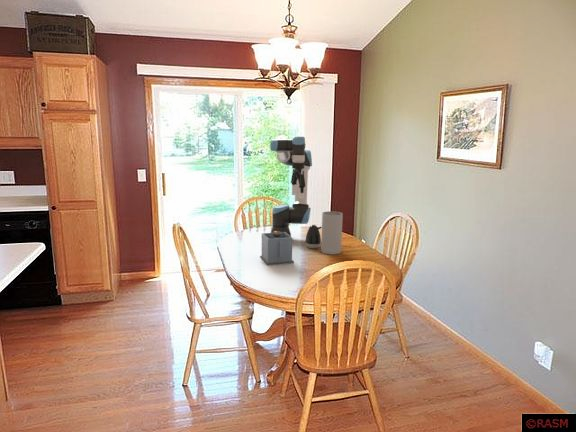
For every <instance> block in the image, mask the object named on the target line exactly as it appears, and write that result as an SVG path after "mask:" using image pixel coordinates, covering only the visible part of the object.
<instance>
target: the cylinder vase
mask: <svg viewBox="0 0 576 432" xmlns="http://www.w3.org/2000/svg"><path fill="white" fill-rule="evenodd" d="M321 215H322V216H321V217H322V218H321V227H322V228H321V243H320V247H321V248H320V251H321V253H323V254H326V255H332V256H333V255H339V254H341V252H342V241H343V240H342V238H343V212H341V211H329V210H327V211H323V212H322V214H321Z"/></svg>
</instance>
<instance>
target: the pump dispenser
mask: <svg viewBox="0 0 576 432" xmlns="http://www.w3.org/2000/svg"><path fill="white" fill-rule="evenodd" d="M320 229H321V230H322V226H317V225H316V224H312V225H310V226H309V227H308V230H307V232H306V235H305V244H306V247H308V248H309V249H317V248H320V247H321V242H322V235H321V232H320Z"/></svg>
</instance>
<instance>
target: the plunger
mask: <svg viewBox="0 0 576 432" xmlns="http://www.w3.org/2000/svg"><path fill="white" fill-rule="evenodd" d="M273 236H275V237H276V238H278V237H279V236H280V231H274V232H273Z"/></svg>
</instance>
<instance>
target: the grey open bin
mask: <svg viewBox="0 0 576 432" xmlns="http://www.w3.org/2000/svg"><path fill="white" fill-rule="evenodd" d="M259 258H260V259H261V260H262V261H263V263H265V265H267V266H273V265H285V264H294V260H293V237H292V235H291V236H290V235H288V234H287V233H286V232H280V236H279V237H278V238H276V237H275V236H273V233H271V232H263V233H261V255H259Z"/></svg>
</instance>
